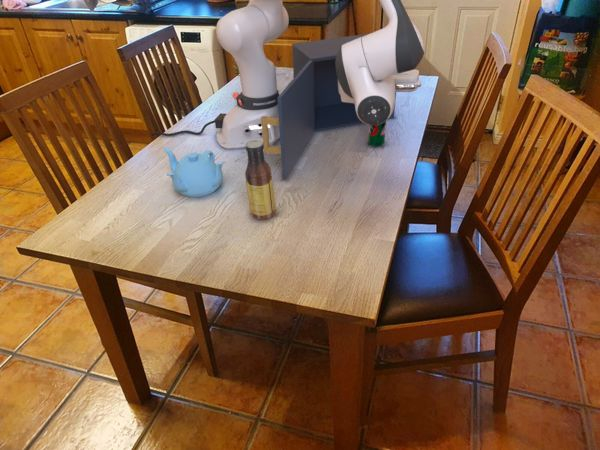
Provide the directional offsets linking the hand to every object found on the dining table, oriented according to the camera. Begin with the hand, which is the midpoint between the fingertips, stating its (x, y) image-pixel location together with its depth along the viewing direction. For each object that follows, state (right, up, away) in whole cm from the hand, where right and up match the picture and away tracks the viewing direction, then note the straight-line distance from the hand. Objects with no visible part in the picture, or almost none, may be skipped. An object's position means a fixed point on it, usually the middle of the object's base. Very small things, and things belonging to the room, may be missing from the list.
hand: (378, 72), depth 120 cm
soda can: (+3, -15, +23) cm, 27 cm away
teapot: (-49, -31, +5) cm, 58 cm away
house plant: (-38, +9, +57) cm, 70 cm away
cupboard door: (-24, -19, +19) cm, 36 cm away
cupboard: (-5, -2, +41) cm, 41 cm away
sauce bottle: (-30, -38, -6) cm, 48 cm away
